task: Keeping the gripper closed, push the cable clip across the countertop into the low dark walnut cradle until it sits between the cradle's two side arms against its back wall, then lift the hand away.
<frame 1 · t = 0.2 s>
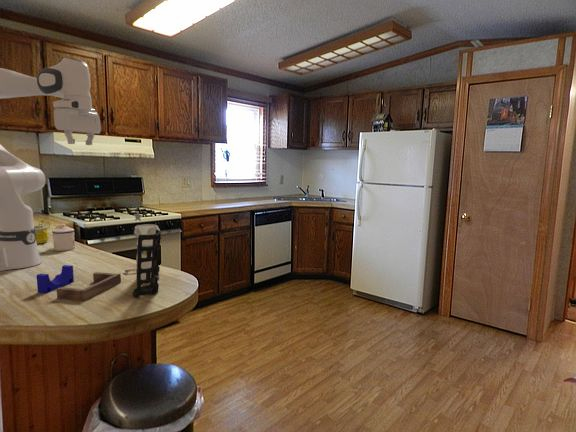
hand: (80, 144, 140), 47 cm above the table, tool pointing down, fingers open, 8 cm apart
cable clip: (54, 287, 127), on the table
teacup with lid: (63, 248, 181), on the table
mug: (37, 243, 191), on the table
holder: (148, 292, 123), on the table
water bottle: (148, 280, 136), on the table
cradle: (89, 289, 125), on the table
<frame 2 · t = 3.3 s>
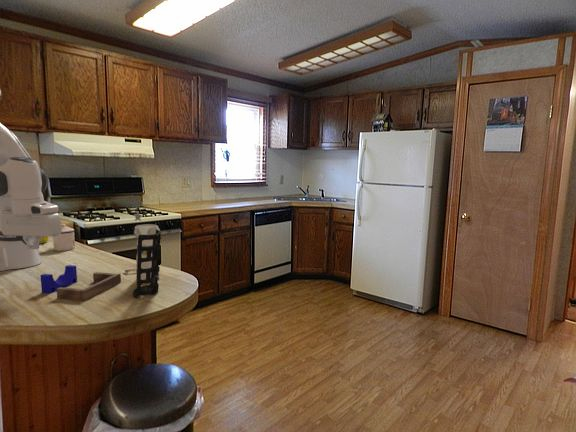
hand: (33, 249, 126), 13 cm above the table, tool pointing down, fingers closed
cable clip: (58, 288, 127), on the table
everything else where it was.
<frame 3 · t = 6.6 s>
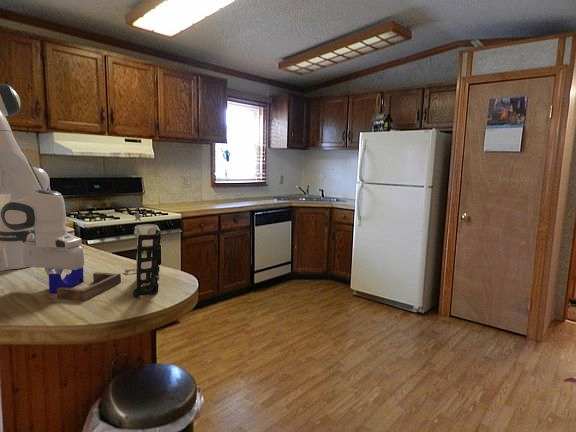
hand: (54, 280, 127), 2 cm above the table, tool pointing down, fingers closed
cable clip: (65, 287, 127), on the table
everything else where it was.
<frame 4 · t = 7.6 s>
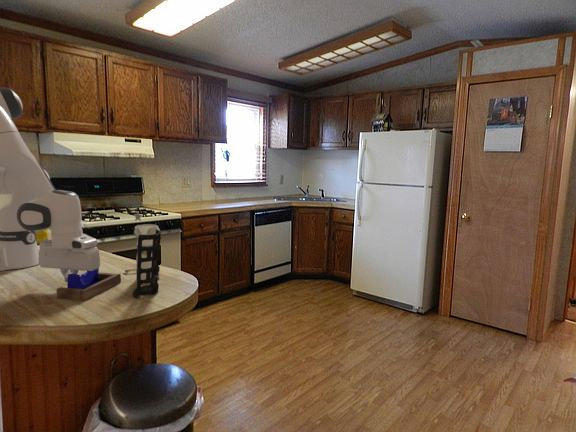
hand: (70, 281, 125), 2 cm above the table, tool pointing down, fingers closed
cable clip: (81, 287, 127), on the table, touching gripper
everything else where it was.
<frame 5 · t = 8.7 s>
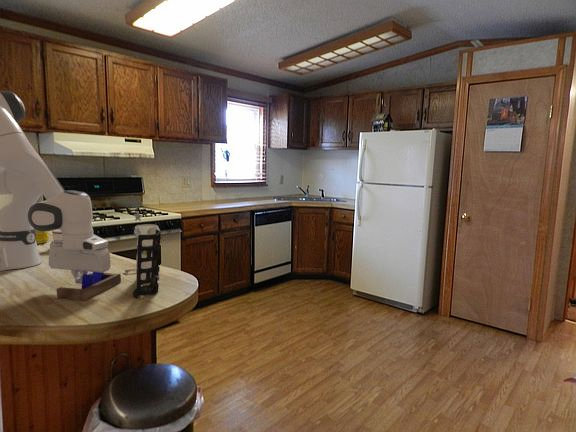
hand: (80, 283, 124), 2 cm above the table, tool pointing down, fingers closed, pressing on cable clip
cable clip: (89, 288, 126), on the table, touching cradle, gripper
everything else where it was.
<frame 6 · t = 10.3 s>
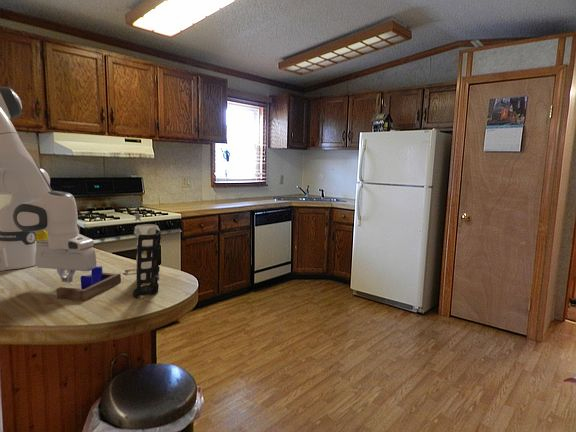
hand: (67, 281, 127), 2 cm above the table, tool pointing down, fingers closed
cable clip: (90, 289, 126), on the table
everything else where it was.
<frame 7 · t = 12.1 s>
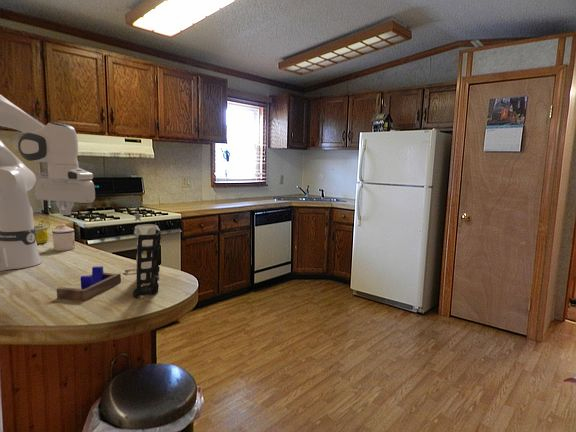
hand: (65, 214, 128), 24 cm above the table, tool pointing down, fingers closed
nothing on the table moved.
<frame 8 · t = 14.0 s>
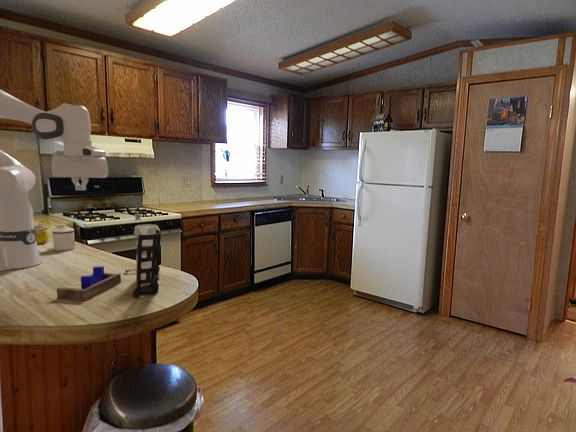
hand: (80, 190, 136), 31 cm above the table, tool pointing down, fingers closed
cable clip: (91, 289, 126), on the table, touching cradle
everything else where it was.
at the end: cable clip inside the target area on the cradle (1.1 cm from its centre), point 0.0 cm above the cradle's base; cable clip tilted 0°; cable clip moved 13.1 cm from its start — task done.
